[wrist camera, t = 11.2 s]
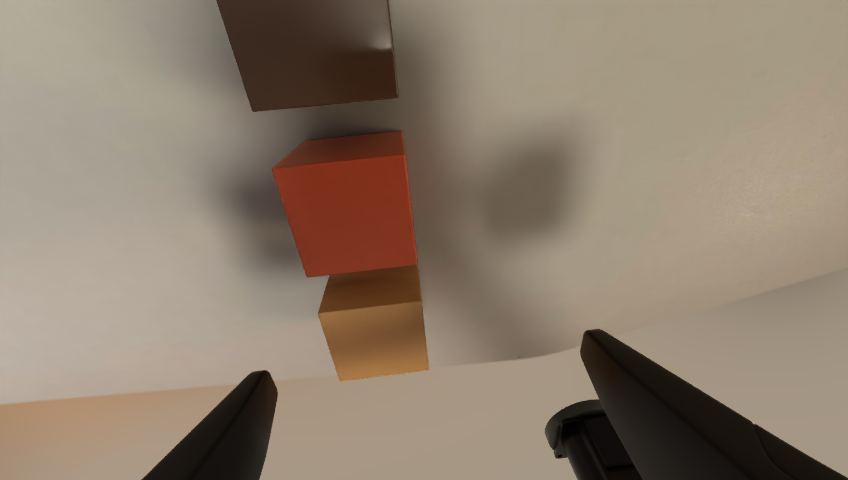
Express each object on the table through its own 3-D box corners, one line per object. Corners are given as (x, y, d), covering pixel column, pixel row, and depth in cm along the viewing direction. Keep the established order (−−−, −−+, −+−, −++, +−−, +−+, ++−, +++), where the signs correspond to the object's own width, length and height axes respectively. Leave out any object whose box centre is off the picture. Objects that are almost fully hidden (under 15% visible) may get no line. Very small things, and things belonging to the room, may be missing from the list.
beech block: (422, 310, 22) (429, 370, 18) (350, 318, 22) (339, 382, 18) (415, 248, 20) (421, 301, 15) (334, 258, 19) (317, 313, 15)
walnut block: (397, 88, 15) (398, 97, 11) (292, 98, 15) (251, 112, 11) (382, -48, 13) (376, -106, 8) (257, -37, 13) (186, -92, 8)
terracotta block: (412, 218, 19) (417, 265, 14) (326, 228, 18) (306, 278, 14) (402, 130, 16) (405, 154, 12) (304, 140, 16) (270, 168, 12)
